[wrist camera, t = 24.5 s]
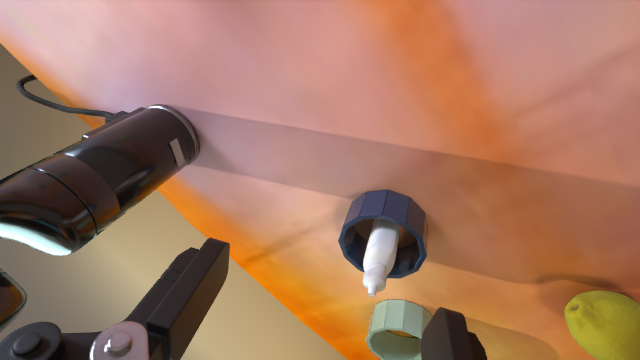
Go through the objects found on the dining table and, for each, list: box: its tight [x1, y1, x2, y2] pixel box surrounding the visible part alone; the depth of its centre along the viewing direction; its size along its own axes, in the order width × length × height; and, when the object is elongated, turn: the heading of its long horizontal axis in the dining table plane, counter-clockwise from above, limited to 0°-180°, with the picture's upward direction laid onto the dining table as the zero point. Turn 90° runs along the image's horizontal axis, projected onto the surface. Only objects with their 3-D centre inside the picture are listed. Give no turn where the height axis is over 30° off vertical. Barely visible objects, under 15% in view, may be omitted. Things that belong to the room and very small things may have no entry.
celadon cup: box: [366, 299, 433, 360], centre depth 51 cm, size 10×10×5 cm
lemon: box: [564, 290, 640, 360], centre depth 35 cm, size 11×8×8 cm
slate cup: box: [338, 190, 428, 278], centre depth 40 cm, size 10×10×5 cm
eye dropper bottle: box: [363, 218, 401, 297], centre depth 37 cm, size 4×6×12 cm
